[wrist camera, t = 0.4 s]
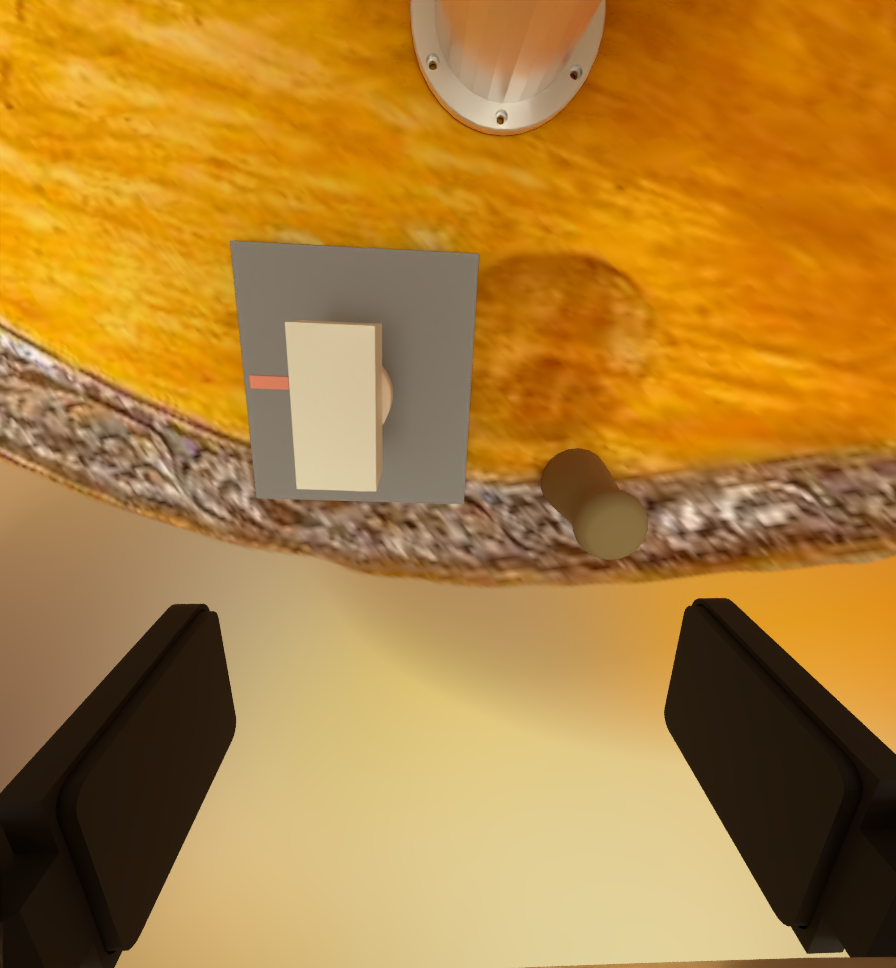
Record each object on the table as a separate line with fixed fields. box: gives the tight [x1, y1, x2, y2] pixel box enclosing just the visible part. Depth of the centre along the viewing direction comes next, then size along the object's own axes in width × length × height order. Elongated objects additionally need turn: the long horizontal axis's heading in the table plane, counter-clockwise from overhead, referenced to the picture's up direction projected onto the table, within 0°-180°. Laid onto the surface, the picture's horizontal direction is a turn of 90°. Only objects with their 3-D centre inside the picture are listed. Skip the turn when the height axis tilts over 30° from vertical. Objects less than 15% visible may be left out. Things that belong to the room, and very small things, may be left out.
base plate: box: [230, 241, 479, 504], centre depth 37 cm, size 20×18×4 cm
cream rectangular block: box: [285, 320, 393, 491], centre depth 32 cm, size 10×6×7 cm, turn 178°
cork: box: [541, 449, 648, 560], centre depth 38 cm, size 6×6×11 cm
